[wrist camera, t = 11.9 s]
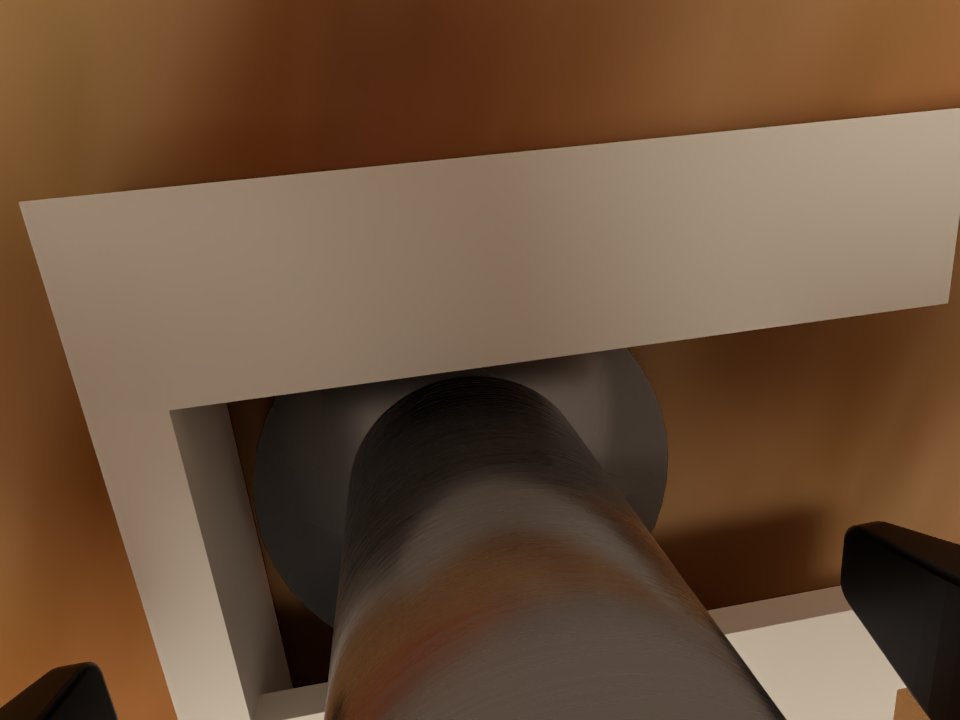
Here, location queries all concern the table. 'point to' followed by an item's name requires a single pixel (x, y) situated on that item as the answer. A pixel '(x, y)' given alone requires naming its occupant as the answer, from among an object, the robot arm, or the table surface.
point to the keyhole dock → (464, 337)
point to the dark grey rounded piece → (493, 548)
